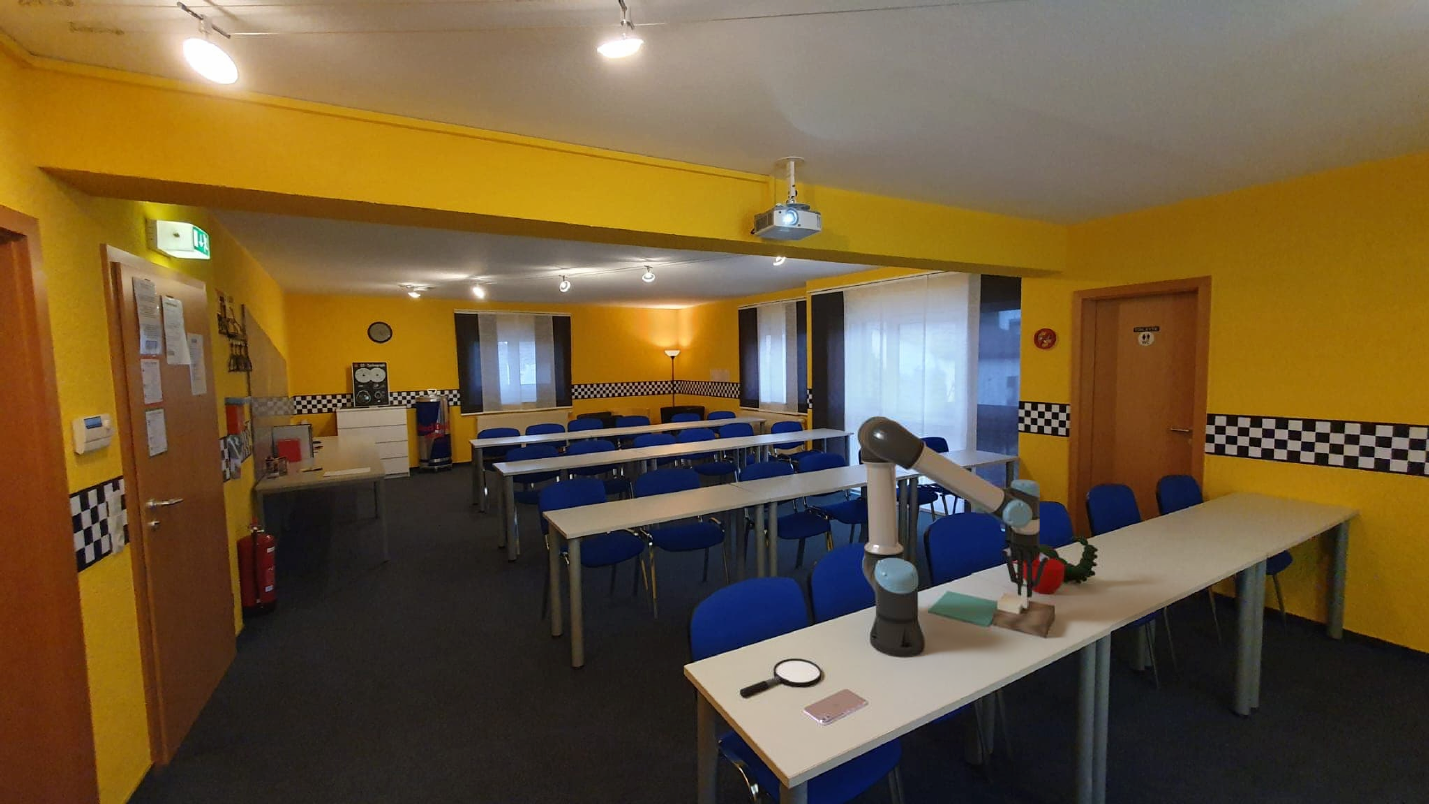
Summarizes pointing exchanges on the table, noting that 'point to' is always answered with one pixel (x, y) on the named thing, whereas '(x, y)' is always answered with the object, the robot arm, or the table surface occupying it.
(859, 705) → the mobile phone
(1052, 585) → the ceramic cup
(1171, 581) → the table surface
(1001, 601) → the tile
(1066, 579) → the toy figurine
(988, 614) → the mat
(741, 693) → the magnifying glass
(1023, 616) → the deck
